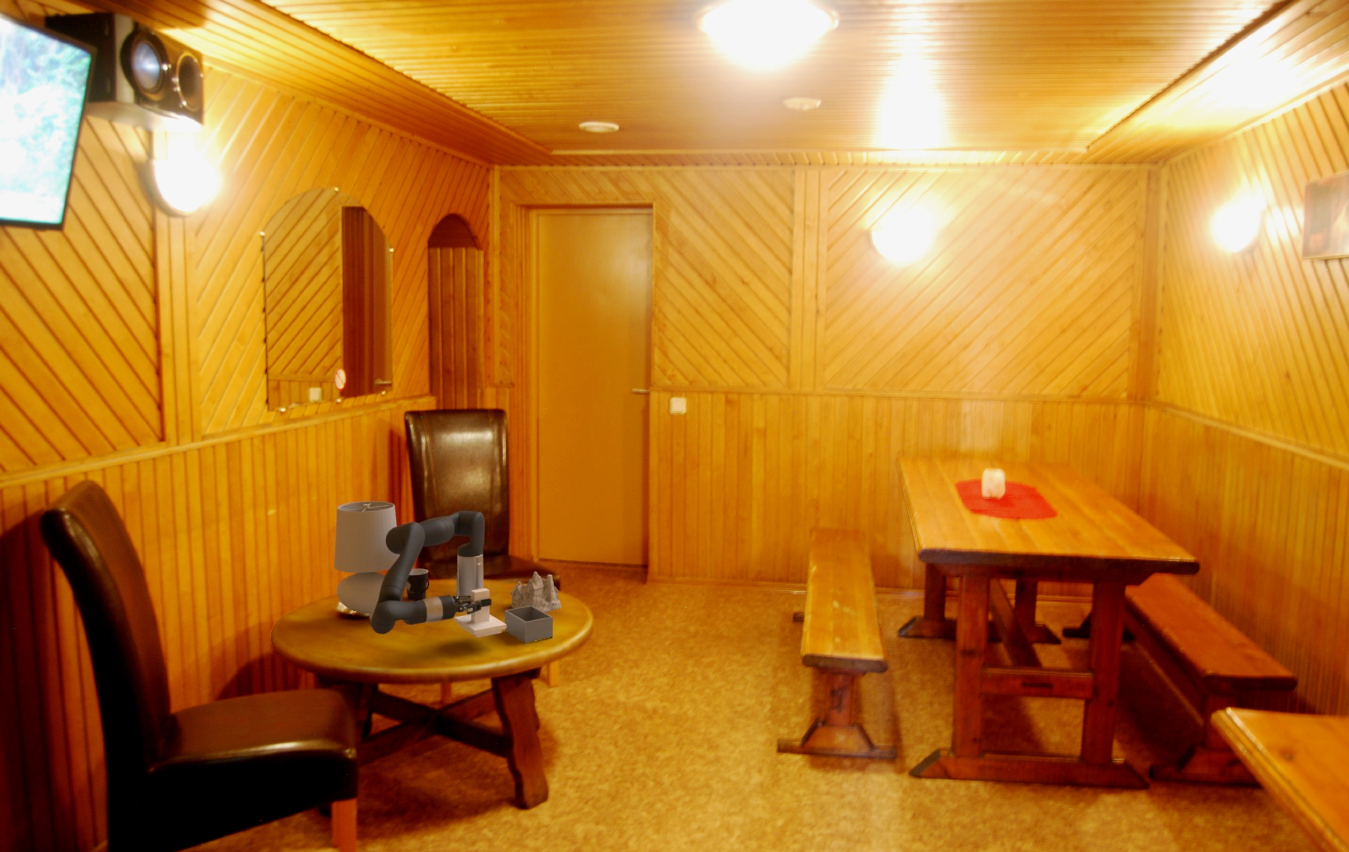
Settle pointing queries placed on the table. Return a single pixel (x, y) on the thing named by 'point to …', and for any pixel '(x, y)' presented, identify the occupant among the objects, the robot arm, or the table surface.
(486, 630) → the slab with upright post
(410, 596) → the coffee mug
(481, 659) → the table surface
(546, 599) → the beige rock formation
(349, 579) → the table lamp
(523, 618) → the tub
